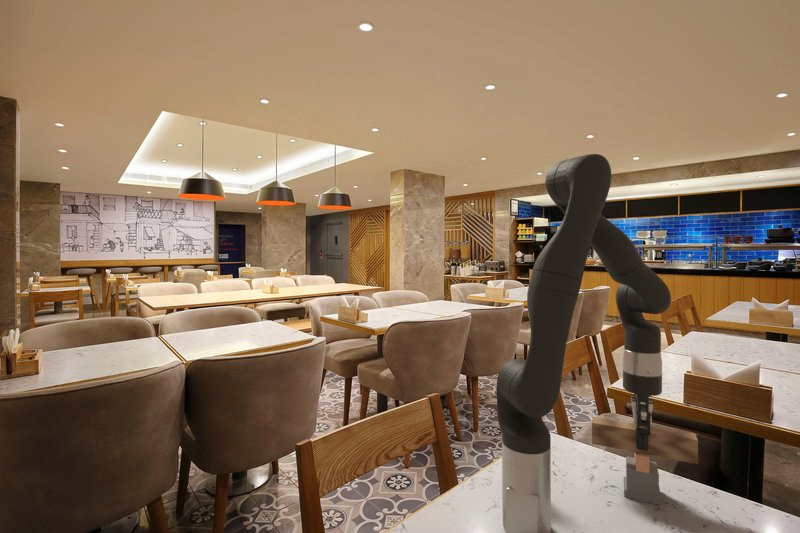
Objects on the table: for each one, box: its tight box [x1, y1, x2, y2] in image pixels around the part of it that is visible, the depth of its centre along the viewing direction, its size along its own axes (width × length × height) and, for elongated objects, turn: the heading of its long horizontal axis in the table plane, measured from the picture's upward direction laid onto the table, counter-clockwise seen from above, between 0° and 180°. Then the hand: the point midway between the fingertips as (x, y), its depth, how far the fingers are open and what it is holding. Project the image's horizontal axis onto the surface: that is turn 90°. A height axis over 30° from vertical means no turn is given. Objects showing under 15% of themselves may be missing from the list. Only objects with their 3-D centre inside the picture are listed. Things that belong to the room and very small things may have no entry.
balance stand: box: [623, 452, 663, 506], centre depth 90 cm, size 6×7×10 cm
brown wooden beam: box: [591, 417, 699, 465], centre depth 89 cm, size 20×4×5 cm, turn 62°
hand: (641, 445), depth 90 cm, fingers closed on brown wooden beam, 3 cm apart
